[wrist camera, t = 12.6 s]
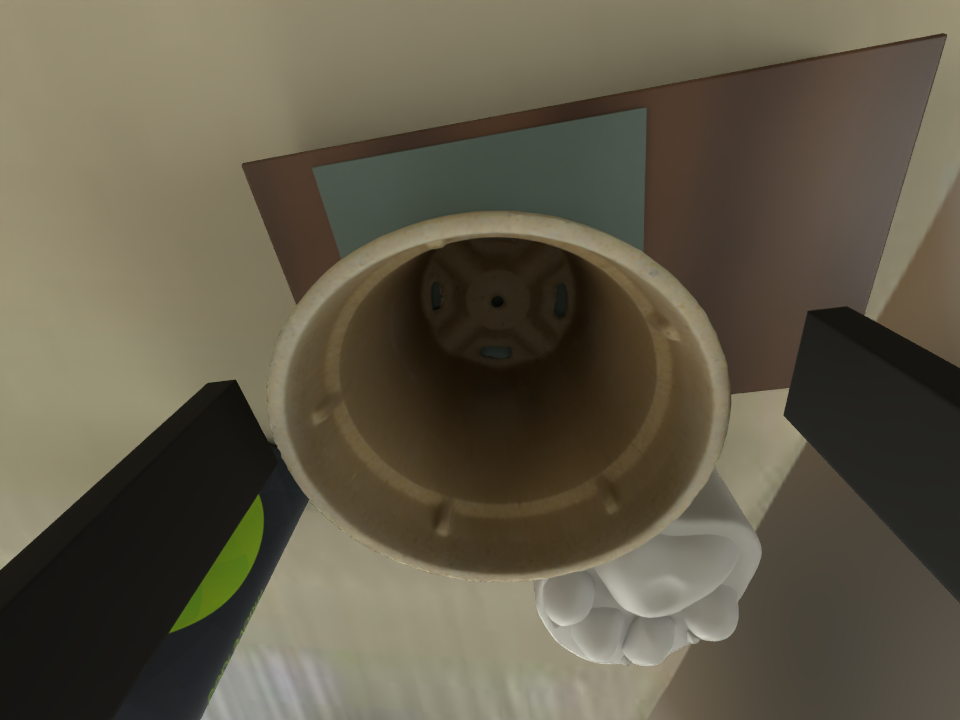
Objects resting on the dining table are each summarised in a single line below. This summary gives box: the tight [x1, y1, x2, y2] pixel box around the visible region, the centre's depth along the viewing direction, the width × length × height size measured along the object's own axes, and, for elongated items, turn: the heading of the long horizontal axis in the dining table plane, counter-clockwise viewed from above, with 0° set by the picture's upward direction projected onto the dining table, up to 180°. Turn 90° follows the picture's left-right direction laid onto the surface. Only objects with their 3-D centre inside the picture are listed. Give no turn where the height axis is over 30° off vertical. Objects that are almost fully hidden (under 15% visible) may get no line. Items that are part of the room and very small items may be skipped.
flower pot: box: [267, 211, 731, 582], centre depth 13 cm, size 9×9×9 cm
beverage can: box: [113, 444, 309, 720], centre depth 22 cm, size 6×6×15 cm
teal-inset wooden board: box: [242, 33, 947, 394], centre depth 18 cm, size 22×12×5 cm, turn 99°
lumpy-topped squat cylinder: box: [534, 468, 762, 666], centre depth 25 cm, size 10×13×9 cm
